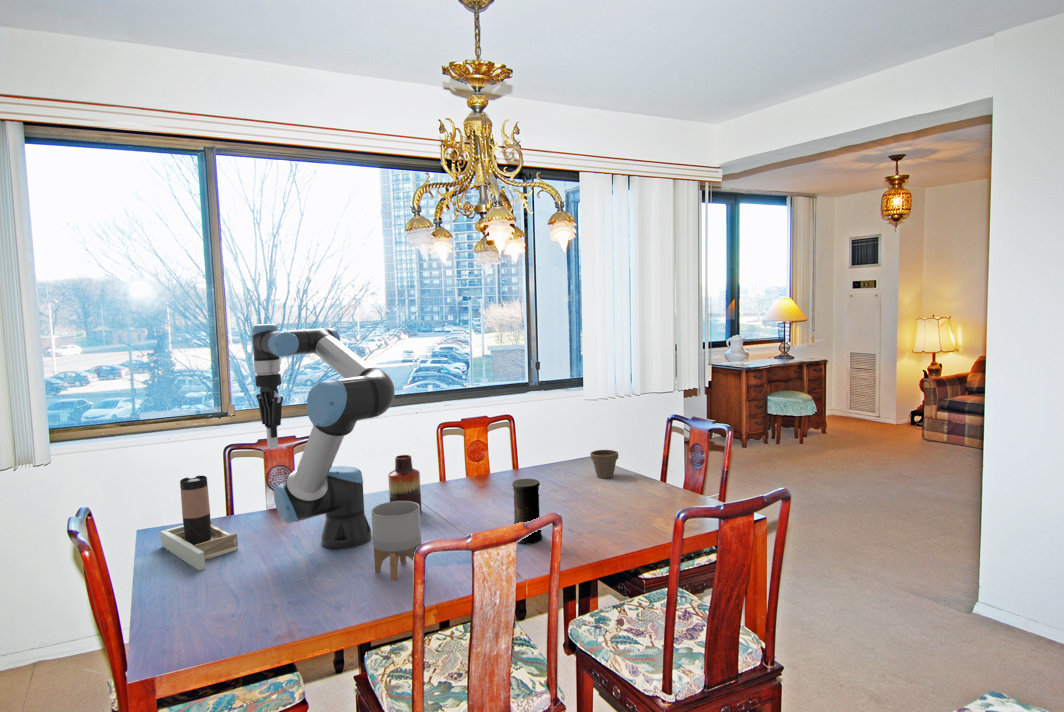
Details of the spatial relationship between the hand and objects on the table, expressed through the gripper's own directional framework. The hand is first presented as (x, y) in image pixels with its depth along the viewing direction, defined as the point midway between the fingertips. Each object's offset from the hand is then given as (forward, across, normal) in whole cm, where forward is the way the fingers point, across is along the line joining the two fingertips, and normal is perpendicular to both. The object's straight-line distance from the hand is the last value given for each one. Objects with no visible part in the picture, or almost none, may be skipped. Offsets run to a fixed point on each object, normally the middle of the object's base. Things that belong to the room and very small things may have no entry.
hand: (272, 447), depth 205 cm
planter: (+30, -52, -8) cm, 60 cm away
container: (+30, -65, -47) cm, 86 cm away
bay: (+29, +8, +19) cm, 36 cm away
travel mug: (+28, +14, +19) cm, 37 cm away
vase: (+30, -15, -39) cm, 51 cm away
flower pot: (+30, -45, -117) cm, 129 cm away
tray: (+29, +10, +19) cm, 37 cm away
